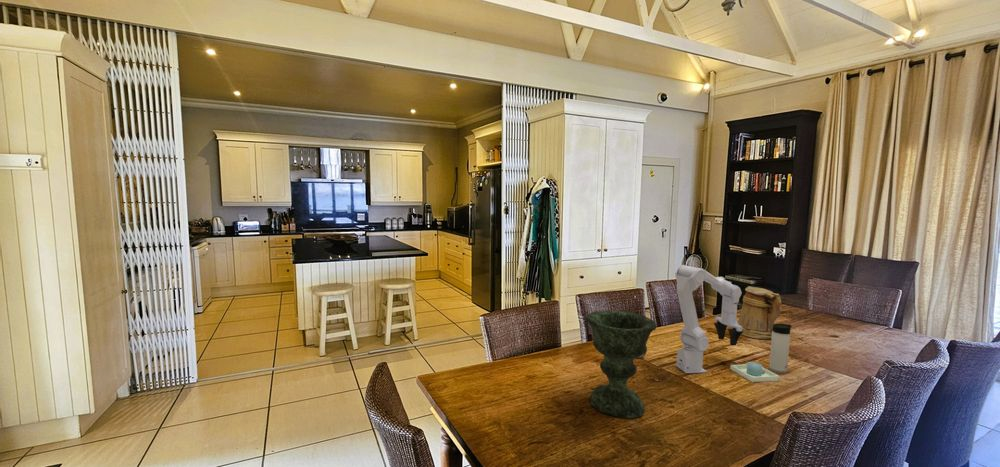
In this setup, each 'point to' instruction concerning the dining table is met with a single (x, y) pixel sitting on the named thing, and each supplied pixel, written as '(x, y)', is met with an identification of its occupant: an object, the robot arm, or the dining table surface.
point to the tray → (764, 378)
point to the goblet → (619, 359)
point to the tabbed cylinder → (754, 369)
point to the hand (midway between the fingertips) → (727, 342)
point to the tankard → (759, 312)
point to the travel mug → (780, 348)
